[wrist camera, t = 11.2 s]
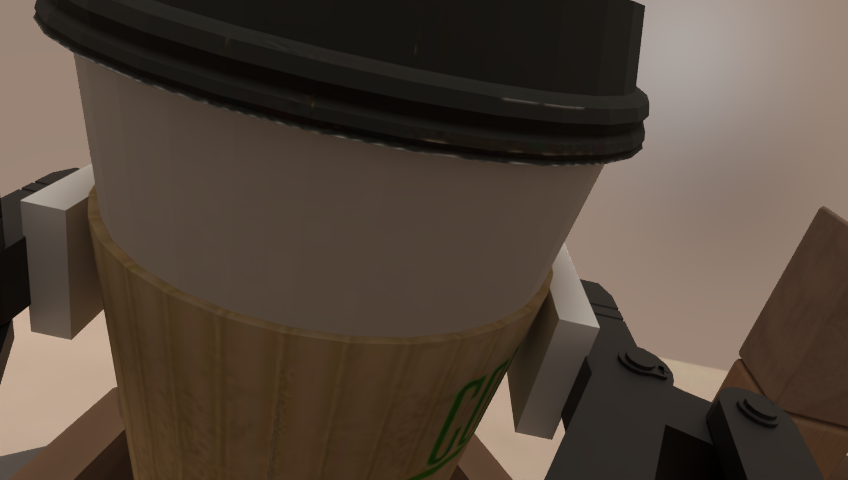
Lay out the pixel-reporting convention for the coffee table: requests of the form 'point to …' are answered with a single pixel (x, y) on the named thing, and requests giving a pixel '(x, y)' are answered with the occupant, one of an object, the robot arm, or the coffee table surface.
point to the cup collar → (110, 461)
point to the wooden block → (806, 344)
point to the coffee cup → (334, 214)
